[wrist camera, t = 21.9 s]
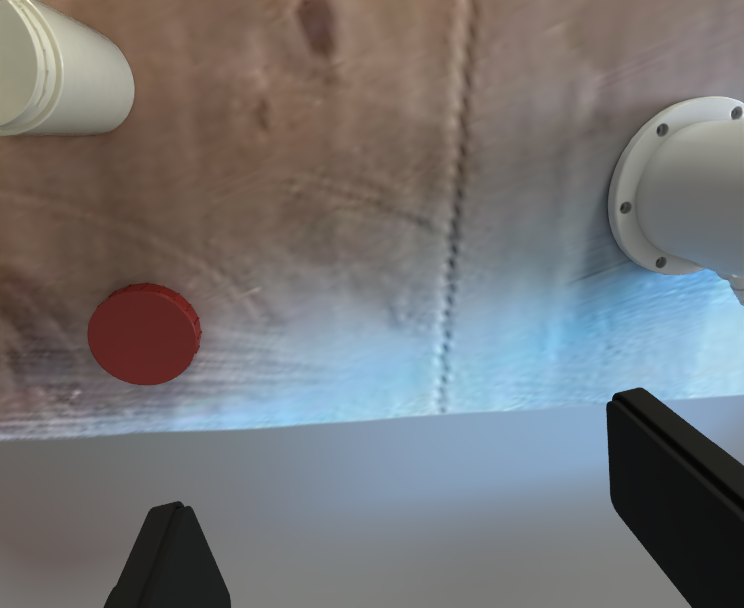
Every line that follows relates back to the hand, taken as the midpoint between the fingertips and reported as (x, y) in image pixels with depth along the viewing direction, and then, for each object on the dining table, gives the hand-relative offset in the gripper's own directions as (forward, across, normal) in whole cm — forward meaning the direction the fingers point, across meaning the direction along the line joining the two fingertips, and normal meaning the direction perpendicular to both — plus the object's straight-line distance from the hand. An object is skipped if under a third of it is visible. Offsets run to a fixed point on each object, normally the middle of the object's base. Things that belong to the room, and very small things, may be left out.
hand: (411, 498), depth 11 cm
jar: (+24, +13, -13) cm, 31 cm away
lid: (+23, +14, +2) cm, 27 cm away
